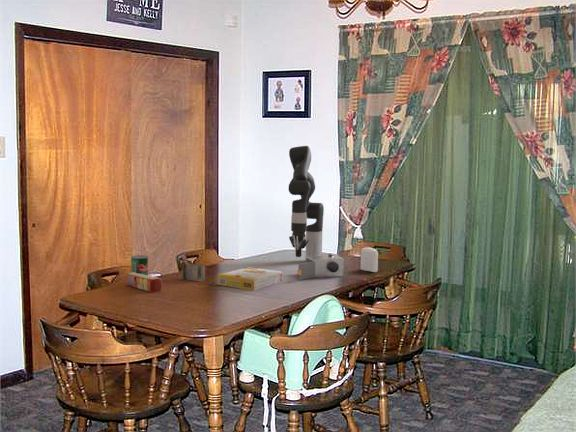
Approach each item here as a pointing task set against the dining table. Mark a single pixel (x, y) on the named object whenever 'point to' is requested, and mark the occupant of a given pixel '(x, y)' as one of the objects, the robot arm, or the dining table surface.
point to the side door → (306, 270)
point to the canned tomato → (139, 264)
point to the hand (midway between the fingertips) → (298, 256)
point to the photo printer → (369, 259)
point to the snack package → (144, 282)
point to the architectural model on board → (193, 272)
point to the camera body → (327, 265)
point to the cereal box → (249, 278)
